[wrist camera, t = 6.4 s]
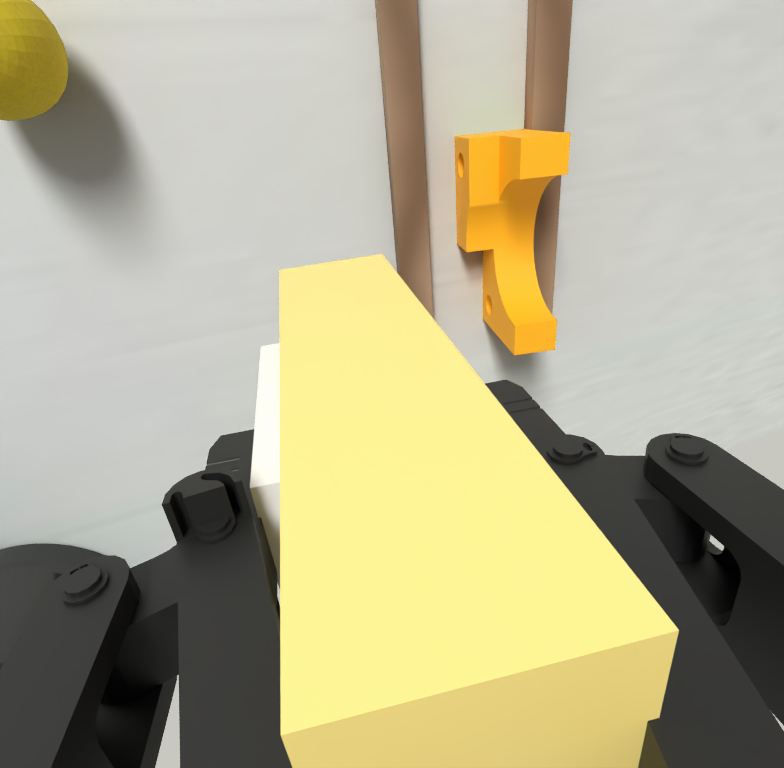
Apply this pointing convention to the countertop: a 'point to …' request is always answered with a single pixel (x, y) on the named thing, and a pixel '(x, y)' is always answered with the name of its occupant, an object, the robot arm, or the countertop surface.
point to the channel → (407, 132)
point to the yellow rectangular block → (438, 558)
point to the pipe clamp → (508, 226)
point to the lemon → (29, 61)
